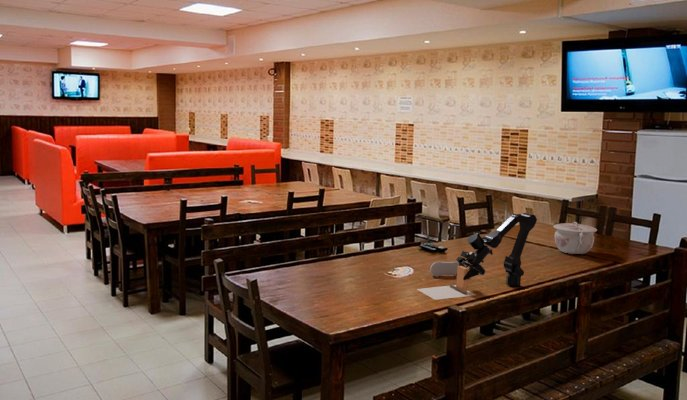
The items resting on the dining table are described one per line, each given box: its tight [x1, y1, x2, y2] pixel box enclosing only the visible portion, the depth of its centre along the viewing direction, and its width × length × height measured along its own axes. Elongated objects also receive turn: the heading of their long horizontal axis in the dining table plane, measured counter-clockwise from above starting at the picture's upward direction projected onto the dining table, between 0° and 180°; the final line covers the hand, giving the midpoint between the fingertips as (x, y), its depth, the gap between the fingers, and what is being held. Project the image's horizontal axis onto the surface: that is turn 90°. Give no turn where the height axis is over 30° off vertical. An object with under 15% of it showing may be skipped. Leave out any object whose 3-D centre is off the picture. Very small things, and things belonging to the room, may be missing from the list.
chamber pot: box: [552, 221, 598, 255], centre depth 400 cm, size 28×28×21 cm
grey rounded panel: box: [429, 261, 459, 278], centre depth 335 cm, size 20×2×8 cm, turn 96°
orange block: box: [455, 266, 469, 292], centre depth 308 cm, size 3×6×12 cm, turn 23°
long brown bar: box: [448, 284, 467, 295], centre depth 308 cm, size 1×14×1 cm, turn 23°
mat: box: [416, 284, 476, 301], centre depth 305 cm, size 24×18×1 cm
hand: (460, 278), depth 307 cm, fingers closed on orange block, 6 cm apart
